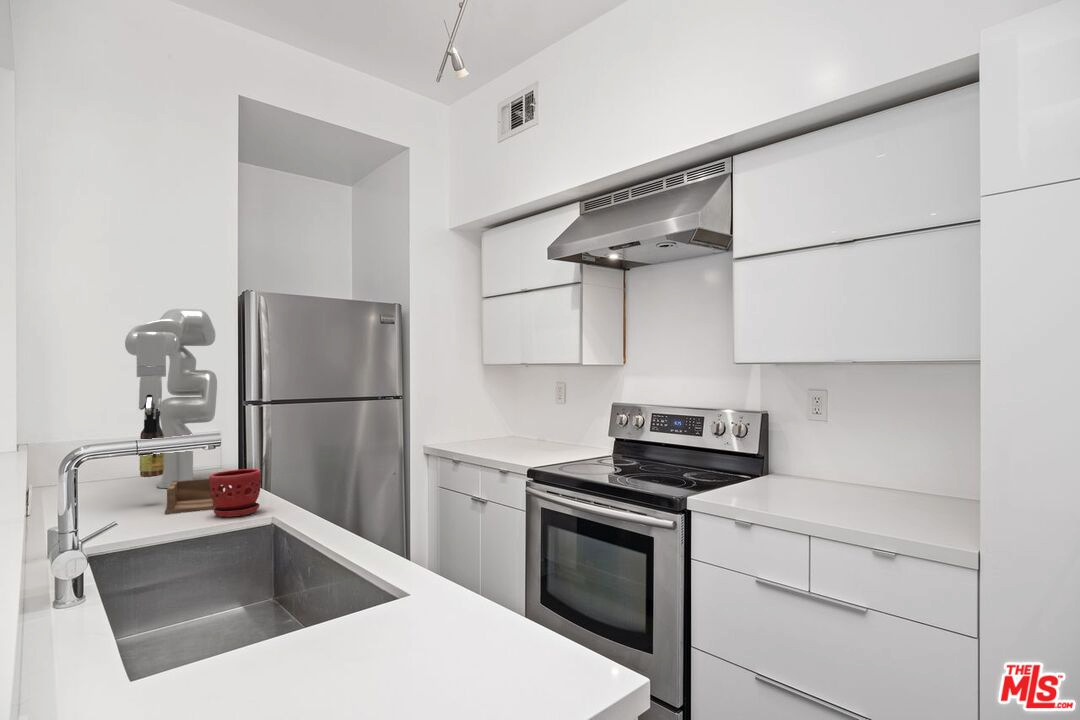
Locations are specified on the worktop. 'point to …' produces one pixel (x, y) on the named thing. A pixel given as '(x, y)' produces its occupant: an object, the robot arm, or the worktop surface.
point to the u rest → (189, 496)
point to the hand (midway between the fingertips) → (151, 430)
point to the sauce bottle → (155, 462)
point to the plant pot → (235, 491)
